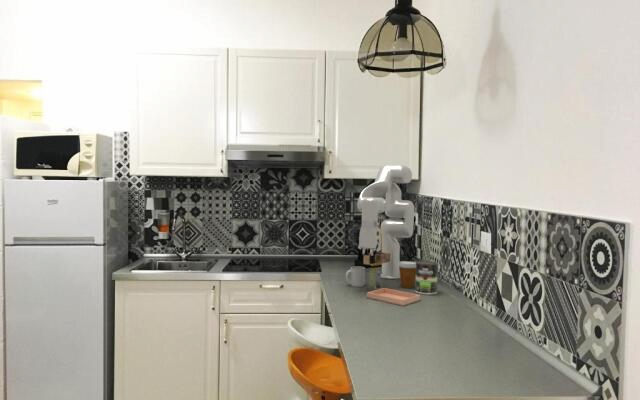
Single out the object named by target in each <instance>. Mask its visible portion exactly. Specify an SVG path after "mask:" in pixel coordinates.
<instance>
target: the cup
mask: <svg viewBox="0 0 640 400" xmlns="http://www.w3.org/2000/svg"><path fill="white" fill-rule="evenodd" d="M349 276H350V278H349ZM365 279H366V267H364V266H357V265H356V266H351V267H350V269H348V270H347V271H346V273H345V282H346V283H348V284H350V286H351V287H355V288H357V287H358V288H361V287H364V286H365V285H366V280H365Z"/></svg>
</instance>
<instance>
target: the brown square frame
mask: <svg viewBox="0 0 640 400" xmlns="http://www.w3.org/2000/svg"><path fill="white" fill-rule="evenodd" d="M368 254H369V255H364V254H363V265H367V266H368V265H371V264H370V255H371V252H368ZM386 262H390V253H383V252H382V251H379V252H378V253H377V254H376V255H375V263H374V264H381V265H382V263H386Z"/></svg>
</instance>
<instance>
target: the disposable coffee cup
mask: <svg viewBox="0 0 640 400" xmlns="http://www.w3.org/2000/svg"><path fill="white" fill-rule="evenodd" d="M416 262H417V261H412V260H411V261H408V260H407V261H406V260H404V261H402V260H401V261H399V264H398V266H399V270H400V278H399V280H400V285H401V286H400V287H402V288H405V289H407V288H408V289H411V288H414V287H415V283H416Z"/></svg>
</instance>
